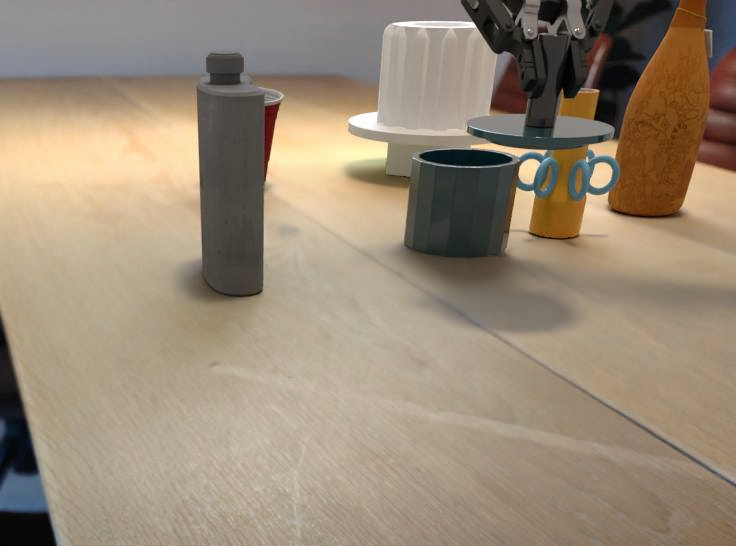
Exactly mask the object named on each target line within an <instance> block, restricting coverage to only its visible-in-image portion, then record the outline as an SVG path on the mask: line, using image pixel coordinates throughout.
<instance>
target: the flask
mask: <svg viewBox="0 0 736 546" xmlns="http://www.w3.org/2000/svg"><path fill="white" fill-rule="evenodd" d="M205 72H206V73H208V74H209V75H205V76H202V77H200V78H199V80H198V81H197V82H196V85H195V86H196V113H197V115H196V117H197V140H198V141H197V144H198V147H197V148H198V172H199V173H198V174H199V177H198V178H199V179H198V180H199V204H200V206H199V209H200V233H201V234H200V235H201V264H202V265H201V267H202V268H201V269H202V275H203V277H204V279H205V281H206V282H207V283H208V285H209V286H211V288H212V289H214V290H215V291H217V292H218V293H220V294H224V295H225V296H226V295H227V296H235V297H242V296H243V297H244V296H252V295H256V294H259V292H261V291H262V290H263V289H264V266H265V265H264V263H265V262H264V259H265V258H264V252H265V251H264V250H265V248H264V247H265V244H264V243H265V242H264V241H265V238H264V237H265V220H264V219H265V185H264V122H265V92H264V91H263V90H262V89H260V88H258V87H259V86H255V85H253V79H252V78H251V77H250V76H248V75H245V74H244V75H243V73H244V72H245V56H243V55H242V53H240V51H236V50H213V51H209V53H208V54H207V55H206V56H205Z"/></svg>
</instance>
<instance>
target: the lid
mask: <svg viewBox="0 0 736 546" xmlns="http://www.w3.org/2000/svg"><path fill="white" fill-rule="evenodd" d="M537 37H538V38H537V41H541V47H542V53H543V60H544V66H545V73H546V84H545V86H544V88H543V90H542V92H541V93H540V95H539V97H538V98H537V99H528V98H527V103H526V110H525V113H501V114H489V116H481V117H476V118H473V119H470V120H468V121H467V122H466V129H465V130H466V132H467V133H468V134H470V135H473V136H475V137H478V138H482V139H486V140H487V141H488V142H491V143H490V144H492V145H493V144H494V145H497V146H502V147H507V148H511V149H513V148H514V149H520V150H532V151H535V150H536V151H547V150H568V149H577V148H582V147H585V146H588V145H589V146H590V145H597V144H601V143H606V142H609V141H611V140H612V139H613V138H614V136H615V131H616V129H615V127H614V126H613V125H611V124H608V123H606V122H602V121H600V120H595V119H594V120H590V119H584V118H577V117H568V116H558V111H559V106H560V100H561V95H562V89H563V87H562V86H563V80H564V75H565V69H566V64H567V58H568V53H569V47H570V42H571V37H572V35H571V34H565V33H549V32H542V33H541V32H540V33H538V35H537ZM589 146H588V147H589Z"/></svg>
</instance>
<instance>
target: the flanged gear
mask: <svg viewBox="0 0 736 546" xmlns="http://www.w3.org/2000/svg"><path fill="white" fill-rule="evenodd" d="M496 27H497V26H496ZM497 28H498V27H497ZM380 56H381V58H380V71H379V85H378V96H377V97H378V98H377V111H373V112H365V113H360V114H357V115H353V116H351V117H350V118H349V119H348V125H347V131H348V133H349V134H350V135H352V136H355V137H357V138H361V139H364V140H368V141H374V142H381V143H387V150H386V164H385V174H386V175H388V176H394V177H403V176H406V177H405V178H410V172H411V162H412V154H414V153H416V152H419V151H423V150H429V149H437V148H472V146H480V145H490V144H492V143H491V142H488V141H487V140H486V139H482V138H478V137H475V136H473V135H470V134H468V133H467V132H466V130H465V129H466V122H467V121H468V120H470V119H473V118H476V117H481V116H489V115H490V109H491V103H492V96H493V89H494V82H495V75H496V67H497V61H498V54H495V53H494V52H493V51H492V50H491V48H490V47H489V45H488V44H487V42H486V41H485V39H484V38H483V36H482V35H481V33H480V32H479V30H478V29H477V27H476V25H475V24H474V22H473V21H453V20H452V21H451V20H449V21H447V20H423V21H422V20H421V21H419V20H418V21H417V20H416V21H415V20H414V21H411V20H409V21H400V22H392V23H389V24H388V25H387V26H386V27H385V29H384V30H383V34H382V44H381V55H380Z"/></svg>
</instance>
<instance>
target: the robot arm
mask: <svg viewBox="0 0 736 546" xmlns="http://www.w3.org/2000/svg"><path fill="white" fill-rule="evenodd" d="M585 2H586V5H585V7H586V9H588V10H589V12H588V15H587V18H586V21H585V23H584V20H583V17H582V13H581V12H582V7H583V6H582V4H583V3H582V0H460V5H462V8H463V9H464V10H465V12H466V13H467V15H468V17H469V18H470V19H471V22H474V24H475V25H476V27H477V29H478V30H479V32H480V33H481V35H482V36H483V38H484V39H485V41H486V42H487V44H488V45H489V47H490V48H491V50H492V51H493V52H494V53H495V54H497V55H502V54H503V53H504V52H505V53H508V54H511V55H512V58H513V59H514V60H515V62H516V68H517V75H518V82H519V88H520V89H521V91H522V92H523V93H526V97H527V100H528V99H537V98H538V97H539V95H540V93H541V92H542V90H543V88H544V86H545V84H546V73H545V66H544V60H543V53H542V47H541V41H538V40H536V39H537V37H538V36H539V21H541V22H545V25H546V28H547V31H548V32H547V33H565V34H571V35H572V37H571V42H570V47H569V53H568V58H567V64H566V69H565V75H564V80H563V86H562V89H563V94H564V98H565V99H570V98H575V96H576V95H577V93H578V92H579V91H580V89H581V88H583V86H584V85H585V83H586V81H587V80H588V77H589V67H588V61H587V55H588V54H589V53H591V51H592V50H593V49H594V47H595V44H596V43H597V41H598V39H599V38H600V36H601V35H602V34H603V32H604V30H605V29H606V26H607V24H608V20H609V18H610V15H611V12H612V9H613V5H614V3H615V0H586V1H585ZM496 26H497V27H498V28H497V27H496Z"/></svg>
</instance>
